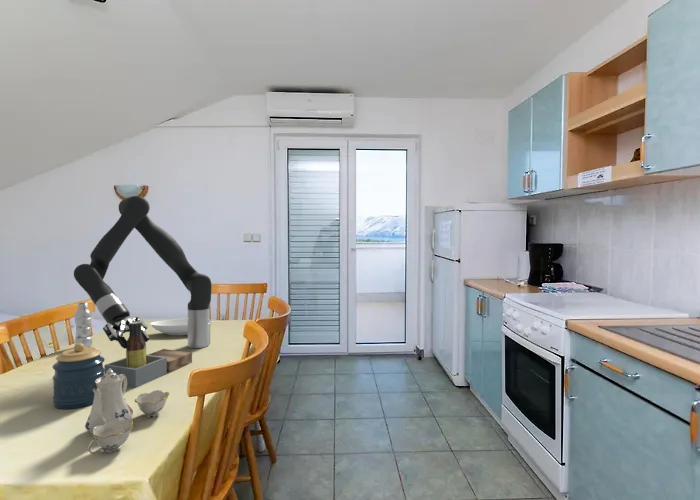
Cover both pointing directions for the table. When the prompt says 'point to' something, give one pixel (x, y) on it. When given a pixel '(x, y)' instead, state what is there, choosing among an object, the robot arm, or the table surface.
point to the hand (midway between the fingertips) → (137, 343)
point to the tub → (140, 370)
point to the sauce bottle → (136, 346)
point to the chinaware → (117, 411)
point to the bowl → (173, 326)
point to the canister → (76, 376)
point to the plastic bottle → (83, 325)
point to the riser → (174, 358)
